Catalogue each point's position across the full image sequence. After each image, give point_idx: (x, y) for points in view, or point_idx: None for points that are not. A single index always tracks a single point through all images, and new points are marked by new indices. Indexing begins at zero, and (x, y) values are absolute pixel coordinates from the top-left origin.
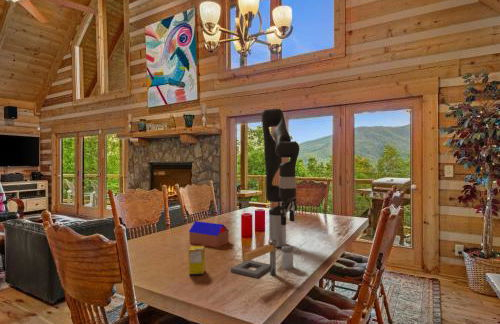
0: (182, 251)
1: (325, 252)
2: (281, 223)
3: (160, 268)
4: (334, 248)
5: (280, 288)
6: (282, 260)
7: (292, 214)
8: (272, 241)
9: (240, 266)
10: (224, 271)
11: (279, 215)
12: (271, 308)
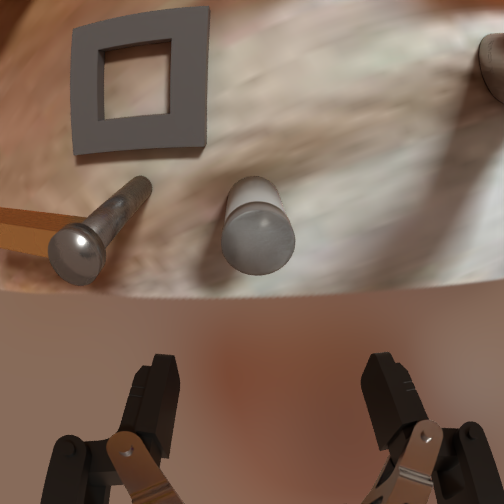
0: None
1: (467, 267)
2: (141, 370)
3: None
4: (499, 276)
5: None
6: (231, 197)
7: (381, 433)
8: (62, 263)
9: (108, 40)
10: (74, 11)
11: (73, 442)
12: (3, 284)
